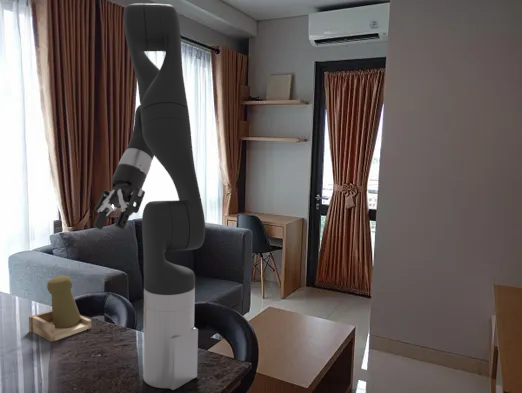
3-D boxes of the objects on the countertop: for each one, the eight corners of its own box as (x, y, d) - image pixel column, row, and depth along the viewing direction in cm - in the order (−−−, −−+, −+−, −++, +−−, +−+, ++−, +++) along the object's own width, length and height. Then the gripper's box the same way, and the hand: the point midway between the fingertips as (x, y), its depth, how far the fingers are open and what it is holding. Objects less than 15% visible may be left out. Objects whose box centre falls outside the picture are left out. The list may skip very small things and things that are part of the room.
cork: (85, 314, 104) (77, 272, 101) (72, 328, 98) (63, 283, 95) (62, 314, 104) (53, 272, 102) (47, 328, 99) (38, 284, 96)
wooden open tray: (91, 328, 101) (91, 313, 101) (49, 342, 93) (49, 327, 93) (70, 318, 106) (70, 304, 106) (29, 331, 98) (28, 316, 98)
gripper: (104, 165, 111) (77, 221, 105) (140, 159, 103) (114, 220, 96) (125, 180, 117) (102, 234, 110) (161, 175, 108) (138, 234, 102)
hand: (107, 228), depth 103 cm, fingers open, 8 cm apart
